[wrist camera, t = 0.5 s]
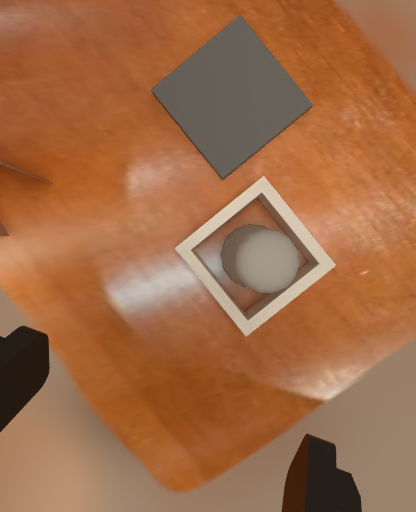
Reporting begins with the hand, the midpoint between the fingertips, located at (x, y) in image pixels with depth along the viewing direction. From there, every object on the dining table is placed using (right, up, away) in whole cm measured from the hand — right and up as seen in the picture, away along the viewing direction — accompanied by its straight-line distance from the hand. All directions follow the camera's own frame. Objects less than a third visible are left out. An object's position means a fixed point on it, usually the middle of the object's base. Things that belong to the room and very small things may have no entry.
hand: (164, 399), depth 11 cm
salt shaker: (+5, +4, +26) cm, 27 cm away
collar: (+5, +4, +25) cm, 26 cm away
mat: (+4, +19, +25) cm, 32 cm away
